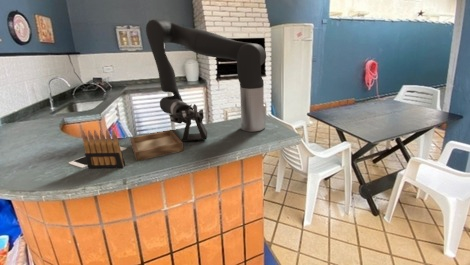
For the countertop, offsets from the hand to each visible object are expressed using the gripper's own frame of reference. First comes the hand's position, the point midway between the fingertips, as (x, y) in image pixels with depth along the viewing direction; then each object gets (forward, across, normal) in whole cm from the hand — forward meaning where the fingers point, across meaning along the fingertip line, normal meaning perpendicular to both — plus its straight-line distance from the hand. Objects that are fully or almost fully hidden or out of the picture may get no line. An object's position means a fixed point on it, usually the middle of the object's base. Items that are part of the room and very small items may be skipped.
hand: (195, 121), depth 88 cm
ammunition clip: (+4, -30, +8) cm, 32 cm away
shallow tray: (-3, -14, +8) cm, 17 cm away
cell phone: (-7, -32, +8) cm, 34 cm away
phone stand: (-3, 0, +7) cm, 8 cm away
